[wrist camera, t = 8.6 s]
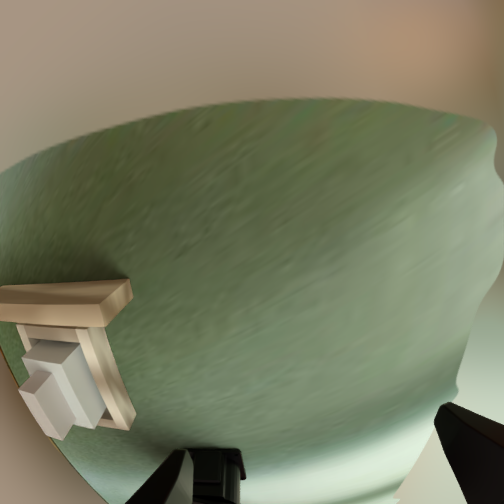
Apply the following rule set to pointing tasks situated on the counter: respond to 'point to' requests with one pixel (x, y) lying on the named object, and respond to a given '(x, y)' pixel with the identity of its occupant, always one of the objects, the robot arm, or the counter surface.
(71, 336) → the stand
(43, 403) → the grey stepped block
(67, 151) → the counter surface
